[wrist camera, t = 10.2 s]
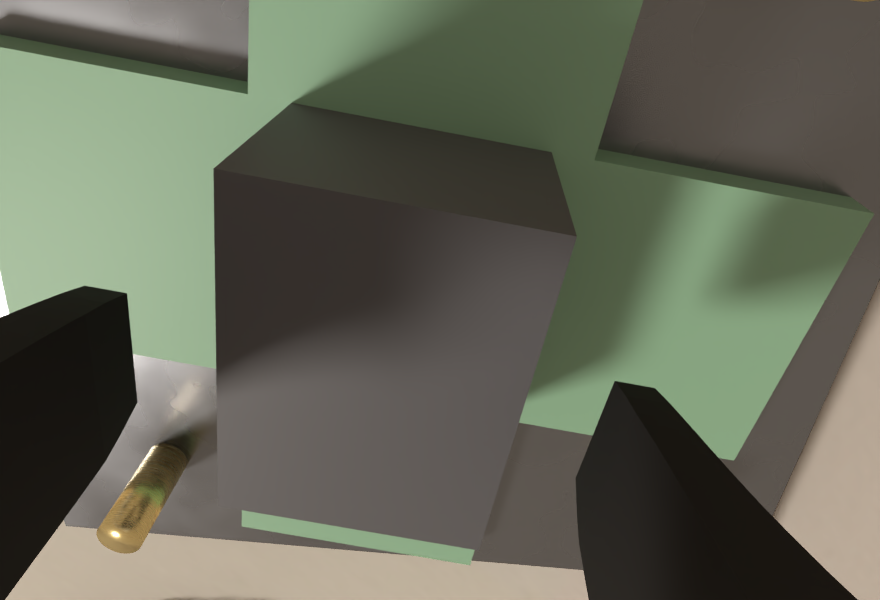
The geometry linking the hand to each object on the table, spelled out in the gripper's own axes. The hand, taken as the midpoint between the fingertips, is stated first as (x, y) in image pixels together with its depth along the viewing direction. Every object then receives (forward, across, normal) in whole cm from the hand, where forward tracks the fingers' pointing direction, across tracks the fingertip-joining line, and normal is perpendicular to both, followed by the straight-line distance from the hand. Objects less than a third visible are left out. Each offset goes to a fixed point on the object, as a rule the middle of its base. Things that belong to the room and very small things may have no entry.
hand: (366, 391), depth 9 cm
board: (+4, 0, 0) cm, 4 cm away
